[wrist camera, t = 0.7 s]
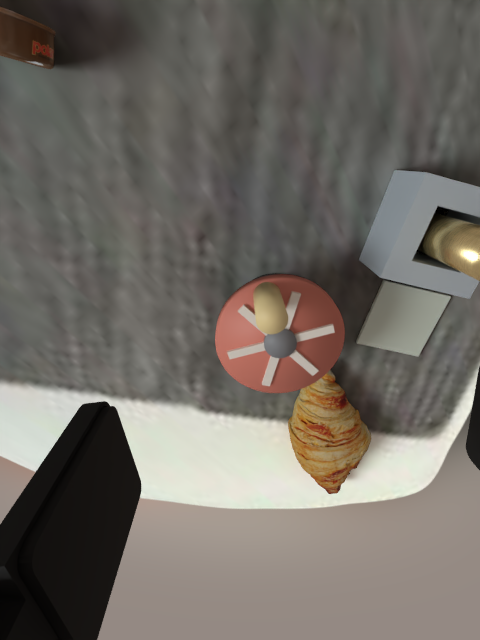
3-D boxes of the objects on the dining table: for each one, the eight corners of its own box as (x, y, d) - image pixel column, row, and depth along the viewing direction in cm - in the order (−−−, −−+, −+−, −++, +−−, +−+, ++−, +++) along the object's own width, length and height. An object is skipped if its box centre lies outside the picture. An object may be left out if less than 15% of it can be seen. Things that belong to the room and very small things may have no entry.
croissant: (291, 348, 45) (267, 384, 39) (371, 355, 40) (358, 398, 34) (308, 462, 53) (290, 506, 47) (375, 480, 48) (366, 532, 42)
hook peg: (407, 205, 33) (489, 228, 23) (440, 214, 34) (536, 240, 23) (392, 240, 35) (462, 277, 24) (424, 248, 35) (506, 288, 25)
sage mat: (383, 279, 37) (384, 281, 36) (449, 295, 38) (451, 296, 37) (355, 341, 40) (356, 343, 40) (416, 354, 41) (418, 356, 41)
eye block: (394, 170, 32) (426, 172, 27) (479, 193, 33) (526, 200, 28) (358, 259, 36) (380, 277, 30) (435, 278, 37) (469, 298, 31)
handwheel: (231, 260, 29) (229, 286, 23) (359, 290, 31) (388, 321, 25) (205, 371, 34) (198, 415, 29) (316, 393, 36) (331, 439, 30)
